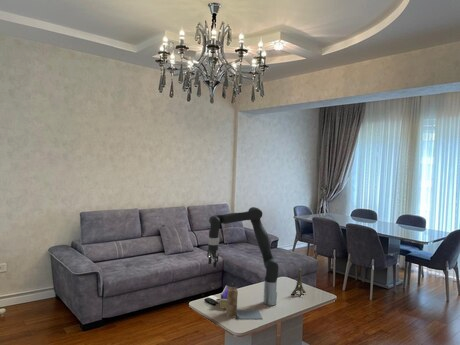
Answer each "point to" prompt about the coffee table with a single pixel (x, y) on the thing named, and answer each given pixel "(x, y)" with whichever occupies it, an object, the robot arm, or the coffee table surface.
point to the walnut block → (232, 302)
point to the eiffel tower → (299, 284)
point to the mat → (248, 314)
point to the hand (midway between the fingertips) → (212, 265)
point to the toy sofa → (224, 298)
